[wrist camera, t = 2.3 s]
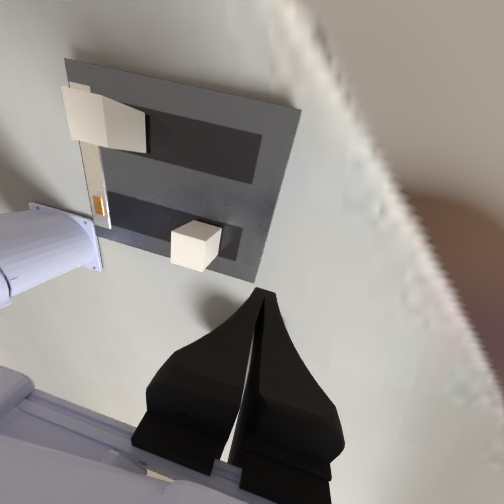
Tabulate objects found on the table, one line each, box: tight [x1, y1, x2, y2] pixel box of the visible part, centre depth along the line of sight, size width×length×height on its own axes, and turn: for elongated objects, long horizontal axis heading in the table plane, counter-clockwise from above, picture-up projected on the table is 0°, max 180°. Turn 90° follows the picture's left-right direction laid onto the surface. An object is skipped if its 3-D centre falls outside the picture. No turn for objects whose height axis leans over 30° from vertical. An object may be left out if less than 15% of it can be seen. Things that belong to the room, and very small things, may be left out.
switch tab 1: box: [61, 86, 146, 153], centre depth 14 cm, size 3×3×4 cm
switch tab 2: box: [171, 220, 222, 272], centre depth 17 cm, size 3×3×4 cm
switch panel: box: [64, 58, 302, 283], centre depth 18 cm, size 20×16×2 cm
